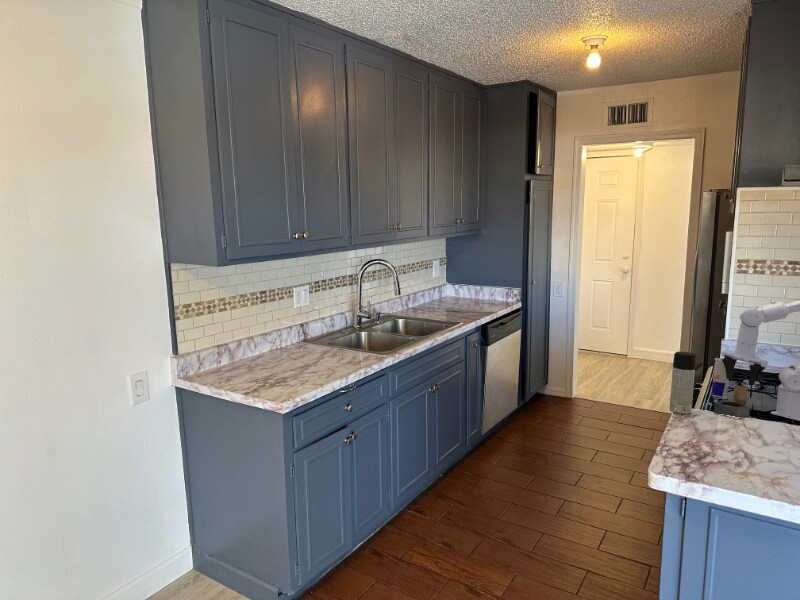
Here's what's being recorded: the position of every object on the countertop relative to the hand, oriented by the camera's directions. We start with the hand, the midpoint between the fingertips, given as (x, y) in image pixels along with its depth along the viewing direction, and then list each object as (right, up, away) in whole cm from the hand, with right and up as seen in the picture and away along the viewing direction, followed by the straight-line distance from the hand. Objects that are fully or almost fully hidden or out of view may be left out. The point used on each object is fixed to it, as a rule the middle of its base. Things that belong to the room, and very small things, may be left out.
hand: (739, 382), depth 192 cm
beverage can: (+1, -9, +14) cm, 16 cm away
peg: (0, -10, 0) cm, 10 cm away
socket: (-7, -10, -6) cm, 13 cm away
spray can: (-23, -10, -5) cm, 25 cm away
